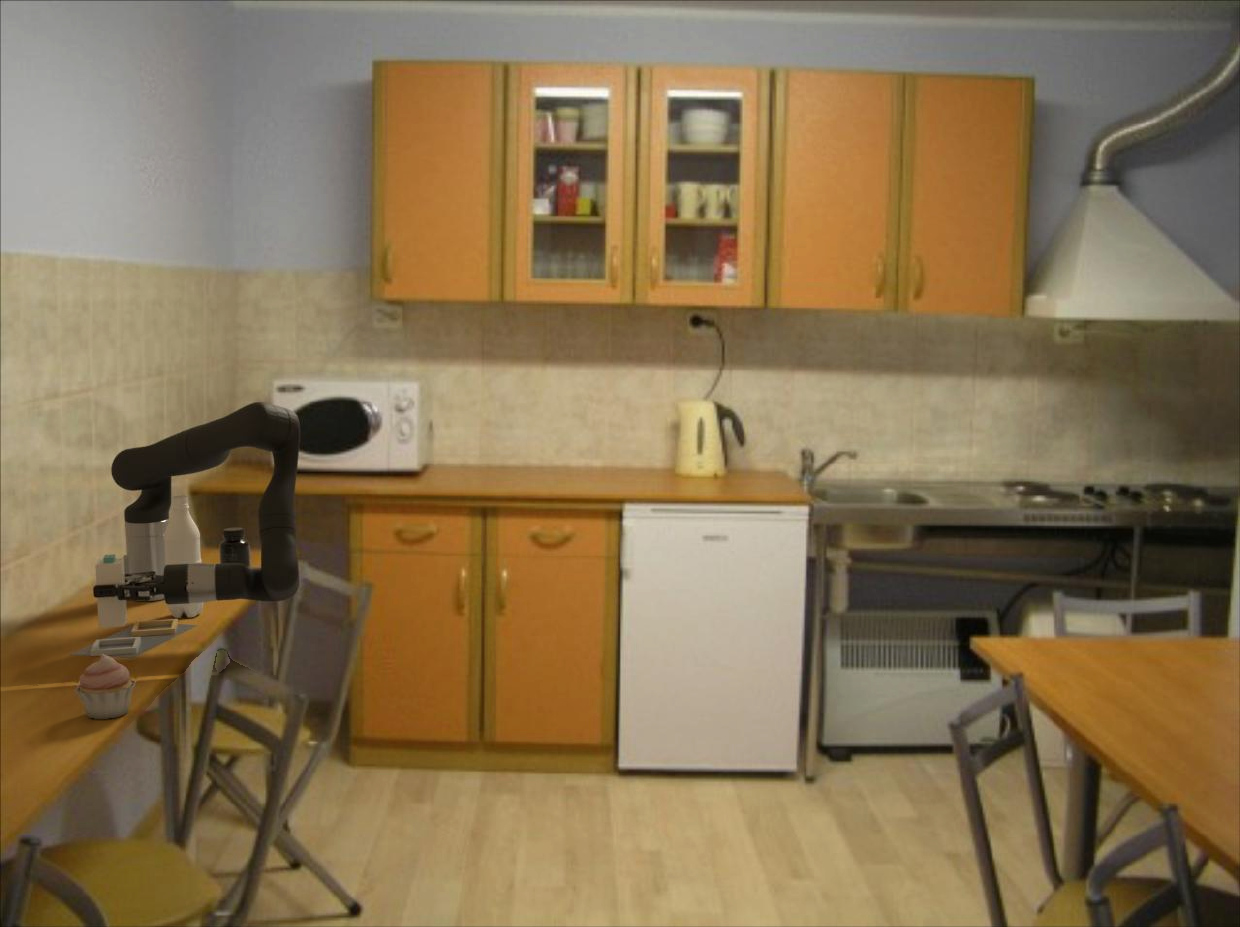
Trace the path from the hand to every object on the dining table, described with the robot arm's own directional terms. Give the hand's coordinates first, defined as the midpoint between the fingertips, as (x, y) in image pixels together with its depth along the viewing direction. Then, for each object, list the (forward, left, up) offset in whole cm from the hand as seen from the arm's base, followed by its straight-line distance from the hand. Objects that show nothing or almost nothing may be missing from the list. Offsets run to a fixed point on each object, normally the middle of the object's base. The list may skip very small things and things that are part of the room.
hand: (95, 588), depth 258 cm
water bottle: (+2, +29, -13) cm, 32 cm away
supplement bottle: (-4, +62, -13) cm, 63 cm away
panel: (+3, +8, -12) cm, 15 cm away
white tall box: (+2, +1, -7) cm, 8 cm away
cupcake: (+22, -33, -13) cm, 41 cm away
